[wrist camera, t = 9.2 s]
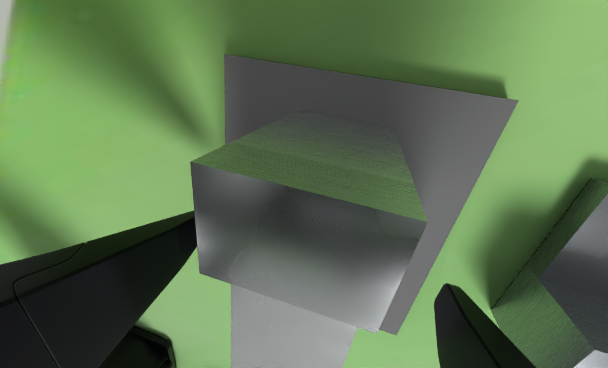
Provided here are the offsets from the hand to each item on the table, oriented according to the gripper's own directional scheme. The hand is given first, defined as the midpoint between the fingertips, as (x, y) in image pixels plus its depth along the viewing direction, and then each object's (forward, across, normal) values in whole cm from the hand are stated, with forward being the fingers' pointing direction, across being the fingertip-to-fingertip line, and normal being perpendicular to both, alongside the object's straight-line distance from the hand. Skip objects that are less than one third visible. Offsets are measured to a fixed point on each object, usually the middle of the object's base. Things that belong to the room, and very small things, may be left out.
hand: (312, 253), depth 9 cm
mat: (+3, 0, 0) cm, 3 cm away
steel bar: (+2, 0, 0) cm, 2 cm away
